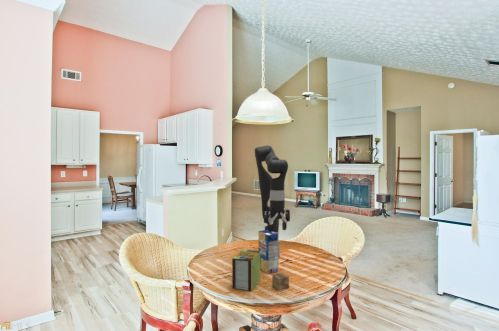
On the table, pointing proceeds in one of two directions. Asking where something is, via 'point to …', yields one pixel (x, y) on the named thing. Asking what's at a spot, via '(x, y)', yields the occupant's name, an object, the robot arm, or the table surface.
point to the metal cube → (280, 281)
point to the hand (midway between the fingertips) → (277, 230)
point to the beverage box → (268, 251)
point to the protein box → (246, 269)
